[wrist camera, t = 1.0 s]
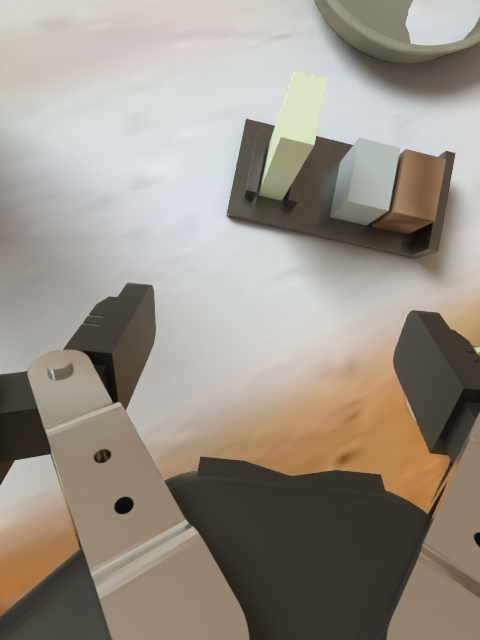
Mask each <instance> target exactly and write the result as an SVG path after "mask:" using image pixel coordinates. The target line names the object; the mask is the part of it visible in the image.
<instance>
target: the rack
mask: <svg viewBox="0 0 480 640" xmlns="http://www.w3.org/2000/svg"><path fill="white" fill-rule="evenodd" d="M274 128H275V126H273V125H269V124H265V123H261V122H257V121H253V120H249V119H246V122H245V127H244V132H243V137H242V142H241V147H240V152H239V157H238V162H237V167H236V171H235V176H234V181H233V186H232V191H231V196H230V201H229V206H228V211H227V216H229V217H234V218H238V219H243V220H247V221H252V222H256V223H261V224H265V225H269V226H274V227H278V228H283V229H287V230H292V231H296V232H301V233H305V234H309V235H314V236H318V237H323V238H327V239H332V240H336V241H340V242H345V243H349V244H354V245H358V246H363V247H367V248H372V249H376V250H380V251H385V252H389V253H394V254H398V255H403V256H407V257H412V258H419V257H422V256H425V255H428V254H431V253H434V252H436V251H438V248H439V242H440V237H441V231H442V226H443V220H444V214H445V209H446V203H447V197H448V192H449V186H450V181H451V175H452V169H453V164H454V158H455V153H452V152H448V151H445V152H444V153H442V154H441V155H440V156H438V157H439V158H443V159H446V163H445V168H444V174H443V179H442V185H441V191H440V196H439V202H438V207H437V213H436V219H435V222H432V223H430V224H428V225H426V226H424V227H422V228H420V229H418V230H416V231H414V232H411V233H409V234H403V233H398V232H394V231H390V230H385V229H381V228H377V227H372V226H371V225H372V222H371V223H369V224H368V225H362V224H358V223H354V222H349V221H345V220H341V219H336V218H332V217H330V213H331V208H332V203H333V198H334V192H335V187H336V182H337V177H338V171H339V166H340V161H341V160H342V159H343V158H344V156H345V155H346V154H347V153H348V151H349V150H350V149H351V148H352V146H353V145H350V144H346V143H342V142H338V141H334V140H330V139H326V138H322V137H318V136H316V139H315V144H314V147H313V148H312V150H311V152H310V153H309V155H308V157H307V159H306V160H305V162H304V164H303V165H302V167H301V169H300V170H299V172H298V174H297V176H296V177H295V179H294V181H293V182H292V184H291V186H290V188H289V189H288V191H287V193H286V194H285V196H284V198H283V199H282V201H281V200H276V199H272V198H268V197H264V196H259V195H258V193H259V189H260V184H261V179H262V174H263V169H264V164H265V159H266V154H267V149H268V146H269V143H270V140H271V137H272V134H273V131H274Z"/></svg>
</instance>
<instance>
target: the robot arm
mask: <svg viewBox="0 0 480 640" xmlns="http://www.w3.org/2000/svg"><path fill="white" fill-rule="evenodd" d="M155 333H156V323H155V303H154V289H153V286H152V285H146V284H136V283H127V284H126V285H125V287H124V288H123V290H122V291H121V293H120V294H119V296H118V297H108V298H106V299H105V300H103V301H101V302H100V303H98V304H96V306H95V307H94V308H93V310H92V311H91V312H90V314H89V316H88V317H87V318H86V319H85V321H84V322H83V324H82V325H81V326H80V327H79V329H78V330H77V331H76V333H75V334H74V335H73V337H72V338H71V339H70V341H69V342H68V344H67V345H66V346H65V348H64V349H63V350H58V351H53V352H50V353H47V354H45V355H43V356H41V357H39V358H38V359H36V360H35V361H34V362H33V363H32V364H31V365H30V367H29V369H28V371H26V372H19V373H10V374H2V375H0V485H1V483H2V482H3V480H4V478H5V476H6V475H7V473H8V471H9V469H10V468H11V466H12V464H13V463H14V461H15V460H19V459H25V458H30V457H36V456H42V455H48V454H51V458H52V461H53V464H54V467H55V470H56V474H57V477H58V480H59V483H60V487H61V490H62V493H63V496H64V499H65V503H66V506H67V509H68V512H69V516H70V519H71V522H72V526H73V529H74V532H75V536H76V539H77V542H78V546H79V550H78V551H77V552H75V553H74V554H73V555H72V556H71V557H69V558H68V559H67V560H66V561H65V562H64V563H62V564H61V565H60V566H59V567H58V568H57V569H55V570H54V571H53V572H52V573H51V574H49V575H48V576H47V577H46V578H45V579H44V580H42V581H41V582H40V583H39V584H38V585H37V586H35V587H34V588H33V589H32V590H31V591H29V592H28V593H27V594H26V595H25V596H24V597H22V598H21V599H20V600H19V601H18V602H17V603H15V604H14V605H13V606H12V607H11V608H9V609H8V610H7V611H6V612H5V613H4V614H2V615H1V616H0V640H480V356H479V354H477V352H476V350H475V349H474V348H473V346H472V345H471V344H470V342H469V341H468V340H467V339H465V338H464V337H463V336H461V335H460V334H459V333H457V332H456V331H455V330H451V329H450V328H449V326H448V325H447V324H446V322H445V321H444V319H443V318H442V317H441V315H440V314H439V313H436V312H425V311H415V310H413V311H411V312H410V313H409V314H408V316H407V318H406V321H405V324H404V327H403V329H402V332H401V335H400V338H399V340H398V343H397V346H396V349H395V352H394V359H393V363H394V369H395V372H396V374H397V377H398V379H399V381H400V384H401V386H402V388H403V391H404V393H405V395H406V398H407V400H408V402H409V405H410V407H411V409H412V412H413V414H414V417H415V419H416V421H417V424H418V426H419V428H420V431H421V433H422V435H423V438H424V440H425V442H426V445H427V447H428V449H429V452H430V453H432V454H442V455H449V457H450V459H451V461H450V462H449V464H448V466H447V468H446V470H445V472H444V474H443V476H442V478H441V480H440V482H439V484H438V486H437V488H436V490H435V493H434V495H433V497H432V499H431V501H430V503H429V505H428V507H427V509H426V511H425V512H424V511H423V510H422V509H420V508H419V507H417V506H416V505H414V504H413V503H411V502H409V501H408V500H406V499H404V498H402V497H400V496H398V495H396V494H393V493H391V492H389V491H386V490H385V488H384V485H383V481H382V478H381V475H380V474H370V473H360V472H350V471H339V470H334V471H327V472H319V473H312V474H305V475H297V476H289V475H285V474H282V473H279V472H276V471H273V470H270V469H267V468H264V467H261V466H258V465H255V464H252V463H249V462H246V461H239V460H229V459H219V458H209V457H200V462H199V468H198V471H192V472H187V473H183V474H180V475H177V476H174V477H172V478H169V479H167V480H165V481H164V480H163V478H162V476H161V474H160V472H159V471H158V469H157V467H156V465H155V463H154V461H153V460H152V458H151V456H150V454H149V452H148V451H147V449H146V447H145V445H144V443H143V442H142V440H141V438H140V436H139V434H138V432H137V431H136V429H135V427H134V425H133V423H132V422H131V420H130V418H129V416H128V414H127V412H126V409H127V406H128V404H129V402H130V399H131V397H132V395H133V392H134V390H135V387H136V385H137V383H138V380H139V378H140V376H141V373H142V371H143V368H144V366H145V364H146V361H147V359H148V357H149V354H150V352H151V349H152V347H153V344H154V340H155Z"/></svg>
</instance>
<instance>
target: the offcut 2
mask: <svg viewBox="0 0 480 640" xmlns="http://www.w3.org/2000/svg"><path fill="white" fill-rule="evenodd" d="M445 163H446V159H443V158H439V157H435V156H431V155H427V154H423V153H419V152H415V151H411V150H407V149H406V150H404V151H403V152H402V153H401V154H400V155H399V158H398V163H397V169H396V174H395V180H394V185H393V190H392V196H391V201H390V207H389V211H388V212H386V213H385V214H383V215H381V216H380V217H378V218H377V219H375V220H374V221H372V225H371V226H372V227H377V228H381V229H385V230H390V231H394V232H398V233H403V234H409V233H411V232H414V231H416V230H418V229H420V228H422V227H424V226H426V225H428V224H430V223H432V222H435V219H436V213H437V207H438V202H439V196H440V191H441V185H442V179H443V174H444V168H445Z"/></svg>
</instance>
